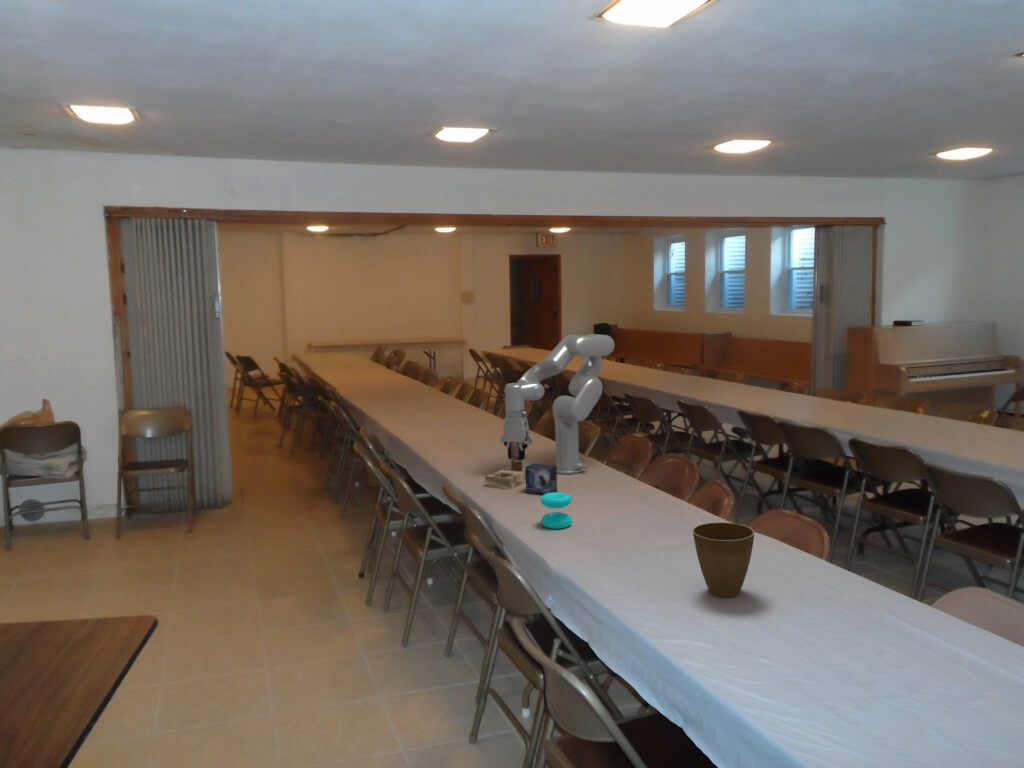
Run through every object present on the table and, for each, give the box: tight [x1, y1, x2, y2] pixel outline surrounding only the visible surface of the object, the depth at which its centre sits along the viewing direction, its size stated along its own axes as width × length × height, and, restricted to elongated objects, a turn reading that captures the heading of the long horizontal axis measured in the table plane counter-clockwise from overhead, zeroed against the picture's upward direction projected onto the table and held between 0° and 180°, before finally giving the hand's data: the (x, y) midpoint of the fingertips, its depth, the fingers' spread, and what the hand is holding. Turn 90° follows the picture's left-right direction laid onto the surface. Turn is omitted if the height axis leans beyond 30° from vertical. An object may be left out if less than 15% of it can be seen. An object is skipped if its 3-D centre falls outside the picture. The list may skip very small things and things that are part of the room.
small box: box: [525, 462, 558, 496], centre depth 302 cm, size 11×6×10 cm, turn 62°
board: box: [484, 466, 526, 490], centre depth 320 cm, size 20×11×4 cm, turn 149°
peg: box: [510, 441, 523, 471], centre depth 323 cm, size 4×4×12 cm
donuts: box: [540, 491, 573, 530], centre depth 261 cm, size 10×10×10 cm
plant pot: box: [692, 521, 755, 598], centre depth 202 cm, size 15×15×16 cm
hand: (516, 458), depth 323 cm, fingers closed on peg, 4 cm apart
